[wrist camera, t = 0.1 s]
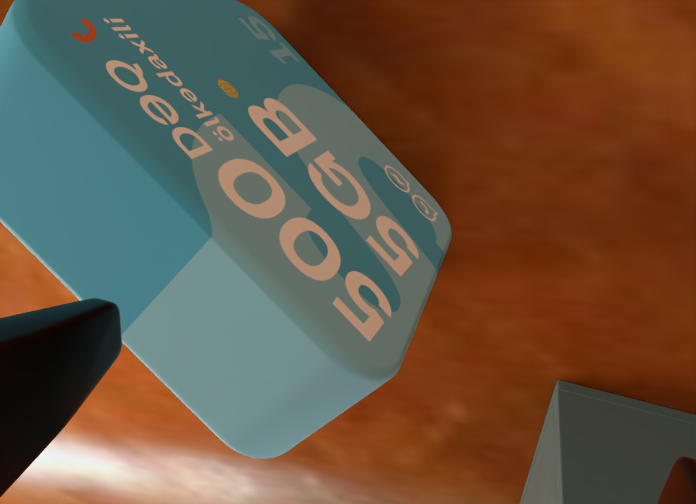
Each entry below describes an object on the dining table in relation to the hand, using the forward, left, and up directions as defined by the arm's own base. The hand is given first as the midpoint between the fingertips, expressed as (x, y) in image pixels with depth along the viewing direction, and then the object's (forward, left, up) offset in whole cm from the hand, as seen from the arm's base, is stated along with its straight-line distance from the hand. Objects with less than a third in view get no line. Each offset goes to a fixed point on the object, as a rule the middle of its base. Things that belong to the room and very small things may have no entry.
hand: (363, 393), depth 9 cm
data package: (0, +6, -15) cm, 16 cm away
